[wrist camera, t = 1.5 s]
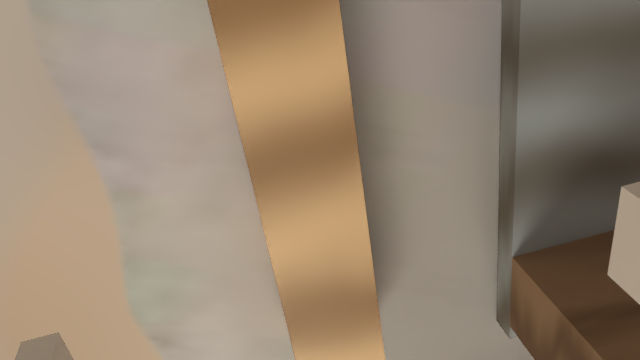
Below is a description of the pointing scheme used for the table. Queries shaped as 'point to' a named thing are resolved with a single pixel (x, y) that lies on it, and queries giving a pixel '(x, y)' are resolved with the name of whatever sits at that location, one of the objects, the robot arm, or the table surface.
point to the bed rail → (304, 168)
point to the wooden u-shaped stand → (567, 174)
